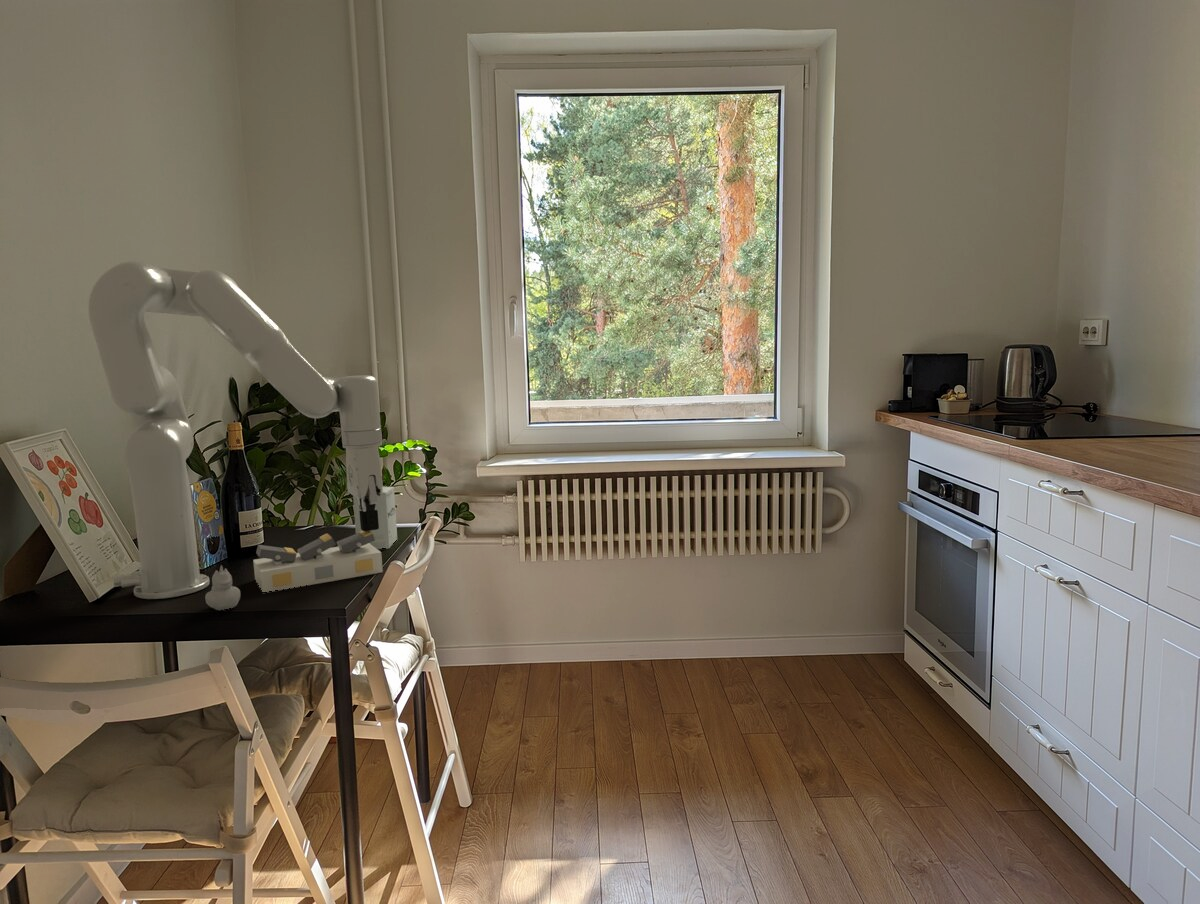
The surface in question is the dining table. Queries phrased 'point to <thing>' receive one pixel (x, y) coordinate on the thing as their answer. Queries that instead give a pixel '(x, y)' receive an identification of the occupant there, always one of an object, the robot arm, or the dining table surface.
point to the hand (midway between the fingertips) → (370, 529)
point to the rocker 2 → (316, 547)
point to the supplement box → (381, 519)
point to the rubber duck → (222, 591)
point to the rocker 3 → (355, 541)
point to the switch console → (317, 568)
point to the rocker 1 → (276, 553)
